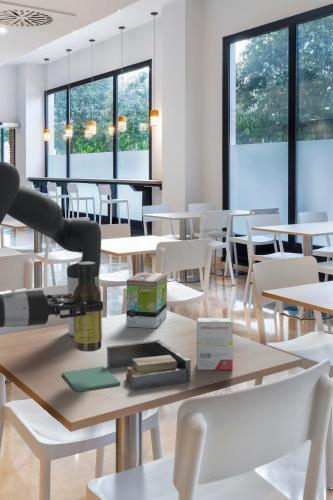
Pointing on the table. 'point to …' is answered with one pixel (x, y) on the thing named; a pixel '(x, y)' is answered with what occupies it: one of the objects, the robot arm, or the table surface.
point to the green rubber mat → (90, 378)
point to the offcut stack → (151, 365)
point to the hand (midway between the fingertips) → (97, 302)
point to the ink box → (214, 344)
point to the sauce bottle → (91, 323)
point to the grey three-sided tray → (128, 352)
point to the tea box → (146, 300)
